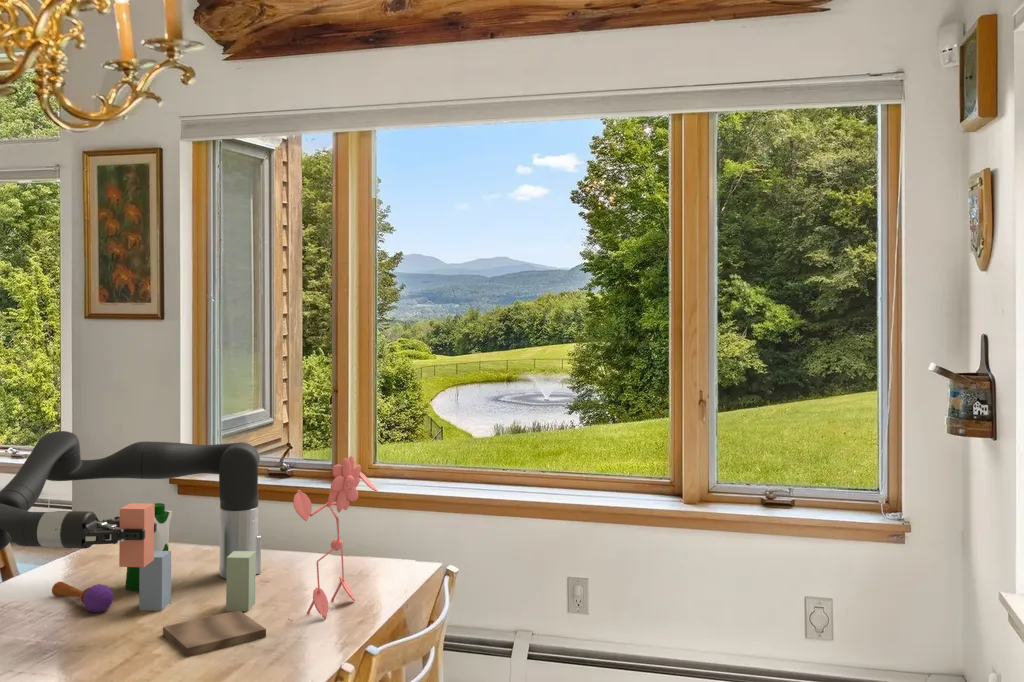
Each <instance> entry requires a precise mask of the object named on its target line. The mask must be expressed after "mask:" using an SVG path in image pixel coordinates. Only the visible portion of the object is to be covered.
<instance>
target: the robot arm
mask: <svg viewBox="0 0 1024 682" xmlns="http://www.w3.org/2000/svg"><path fill="white" fill-rule="evenodd" d="M81 458H82V457H81V445H80V440H79V438H78V436H77V435H76V434H75V433H73V432H70V431H66V430H65V431H64V430H57V431H52V432H49V433H47V434H45V435H43V436H42V437H41V438H40V439H39V440H38V441H37V442H36V444H35V445H34V448H33V449H32V451H31V452H30V454H29V455H28V457H27V458H26V459H25V461H24V463H23V464H22V466H21V467H20V469H19V470H18V471H17V472H16V474H15V475H14V477H13V478H12V479H11V480H10V481H9V482H8V483H7V484H6V485H5V486H4V487H3V488H2V489H1V490H0V551H2V550H3V549H5V548H6V547H7V546H8V545H9V544H11V541H13V542H14V543H15V544H16V545H17V546H21V547H38V548H39V547H45V548H51V549H89V548H91V547H92V546H93V545H96V546H97V545H115V544H118V543H119V542H120V541H121V542H123V541H125V539H126V540H143V539H145V529H126V531H125V528H120V515H119V516H118V515H116V516H115V517H114V518H103V519H102V520H101V521H100V520H99V518H98V516H97V515H96V513H95V512H94V511H86V510H85V511H79V510H71V511H70V510H55V511H29V510H31V508H32V507H33V506H34V505H35V503H36V502H37V500H38V499H39V497H40V496H41V494H42V492H43V490H44V486H45V484H46V481H50V482H68V481H69V482H71V481H72V482H73V481H85V480H97V479H98V480H99V479H136V480H137V479H138V480H140V479H141V480H165V479H167V480H168V479H172V478H173V479H175V478H180V477H186V476H192V475H201V474H212V475H219V476H218V481H219V482H218V493H219V494H218V496H219V508H220V509H219V566H218V567H219V568H218V569H219V576H220V577H221V578H222V579H226V570H227V557H228V556H229V555H230V554H231V553H232V552H233V551H256V575H257V574H261V569H262V568H261V566H262V537H261V535H259V489H258V488H259V487H258V486H259V485H258V484H259V464H260V461H261V459H260V453H259V451H258V450H257V448H255V446H253V444H252V445H251V444H250V443H248V442H231V443H220V444H219V443H218V444H194V443H186V442H185V443H184V442H183V443H182V442H169V441H168V442H167V441H137V442H134V443H131V444H129V445H128V446H125V447H124V448H121V449H119V450H118V451H116V452H114V453H112V454H110V455H108V456H105V457H102V458H97V459H81ZM156 531H157V524H156V522H154V533H155V532H156Z"/></svg>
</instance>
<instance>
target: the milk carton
mask: <svg viewBox="0 0 1024 682" xmlns="http://www.w3.org/2000/svg"><path fill="white" fill-rule="evenodd" d="M153 504H155V516H154V522H156V524H157V531H156V532H155V533H154V551H169V547H170V546H169V542H170V540H169V538H170V537H169V533H170V532H169V531H170V526H171V525H170V524H171V520H172V515H173V511H172V510H166V509H165V508H166V506H165V503H160V502H159V503H153ZM139 573H140V567H126V576H125V577H126V578H125V585H124V586H125V588H124V589H125V590H127V591H128V590H129V591H136V592H139Z"/></svg>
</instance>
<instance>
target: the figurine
mask: <svg viewBox="0 0 1024 682" xmlns="http://www.w3.org/2000/svg"><path fill="white" fill-rule="evenodd" d="M332 475H333V480H332V482H331V484H330V491H329V495H328V501H327V502H326V503H325V504H323V505H322V506H320V507H319V508H318V509H316V510H314V511H313V512H312V507H313V506H312V501H311V499H310V498H309V497H308V495H307V494H306V493H304V492H302V491H301V490H300V489H298V490H297V491H296V493H295V494H294V497H293V501H292V503H293V508H294V510H295V512H296V514H297V515H298V516H299V517H300V518H301V519H302V520H303V521H305V522H307V521H308V520H309V518H310V517H313V516H314V515H316V514H317V513H318V512H320V511H322V510H323V509H324V508H326V507H328V508H329V509H330V511H331V513H332V515H333V516H334V518H335V519H336V520H335V521H336V523H335V524H336V532H337V533H336V534H337V538H334V539H333V540H332V541H331V543H330V548H331V550H329V551H328V552H326V553H325V554H324V555H323V556H321V557H320V558H318V559H317V560H316V578H317V587H315V589H313V593H312V602H311V604H310V605H309V607H308V609H307V612H306V613H307V614H310V612H311V611H312V609H313V607H315V609H316V611H317V612H318V613H319V615H320V616H321V617H322V618H323V620H326V619H327V617H328V613H329V609H330V608H329V601H328V597H327V595H326V592H325V591H324V590H323V589H322V588H320V586H321V585H320V573H319V572H320V571H319V562H320V561H321V560H323V559H324V558H325V557H326V556H328V555H330V554H331V553H332V552H334V551H335V552H338V551H341V552H340V553H341V554H340V557H341V574H342V575H339V577H338V578H339V583H338V586H337V587H336V590H335V592H334V594H333V595H332V597H331V601H332V602H334V600H335V598H336V596H337V594H338V592H339V591H340V589H341V586H342V588H343V589H344V591H345V593H346V594H347V595H348V597H349V598H350V599H352V601H353V602H355V601H356V599H355V597H354V594H353V592H352V590H351V588H350V586H349V585H348V583H347V582H346V580H345V571H344V570H345V569H344V551H343V547H344V542H343V540H341V539H340V521H339V516H338V515H337V513H341V512H342V511H343V510H344V511H348V508H349V507H350V502H355V501H357V500H358V499H359V491H358V490H357V488H358V486H359V484H360V481H363V483H364V484H365V485H366V486H367V487H369V489H371V490H372V491H374V492H376V493H378V489H377V488H376V486H375V485H374V484H373V482H372V481H371V480H370V479H369V478H368V477H367V476H366V474H364V473H363V472H362V466H361V464H356V465H355V457H354V456H353V455H351V454H350V456H349V457H348V458H347V457H345V458H344V459H343V460H342V464H338V463H337V464H334V466H333V467H332ZM333 505H336V512H337V513H336V512H335V511H334V508H333V507H332V506H333ZM287 620H288V621H291V622H293V620H292V619H289V618H287Z"/></svg>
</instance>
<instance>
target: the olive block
mask: <svg viewBox="0 0 1024 682" xmlns="http://www.w3.org/2000/svg"><path fill="white" fill-rule="evenodd" d="M256 575H257V574H256V551H233V552H232V553H231V554H230V555H229V556H228V557H227V570H226V578H225V579H226V582H225V583H226V586H225V589H226V592H225V595H226V596H225V598H226V599H225V600H226V602H225V610H226V611H227V612H228V611H229V612H232V611H237V610H239V611H241V612H249V611H250V610H251V609H252V608H253V607H254V606H255V604H256Z"/></svg>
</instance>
